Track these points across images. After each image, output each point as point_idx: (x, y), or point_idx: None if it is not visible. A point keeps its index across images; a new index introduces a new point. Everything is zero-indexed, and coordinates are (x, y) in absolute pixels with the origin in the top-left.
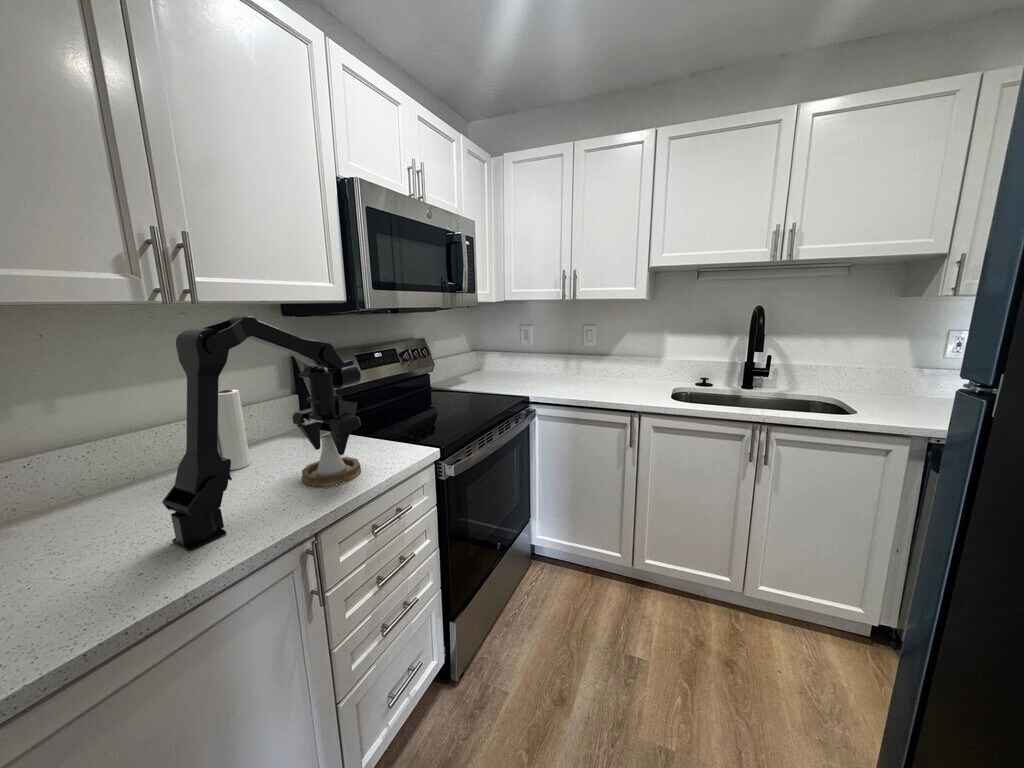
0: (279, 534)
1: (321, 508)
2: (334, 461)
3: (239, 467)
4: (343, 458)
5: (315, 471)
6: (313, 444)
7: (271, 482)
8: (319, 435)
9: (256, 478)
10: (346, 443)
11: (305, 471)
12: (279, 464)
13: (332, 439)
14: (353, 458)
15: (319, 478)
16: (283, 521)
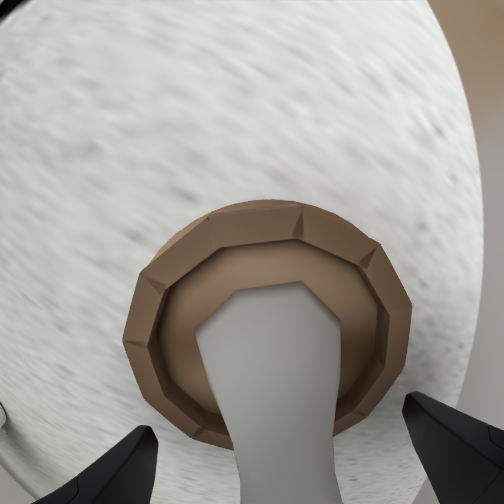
0: (417, 482)
1: None
2: (336, 396)
3: (3, 414)
4: (205, 251)
5: (188, 378)
6: (152, 484)
7: None
8: (108, 493)
9: (83, 443)
10: (476, 421)
11: (215, 437)
12: (10, 359)
13: (341, 501)
14: (269, 212)
15: (337, 432)
16: (392, 480)
